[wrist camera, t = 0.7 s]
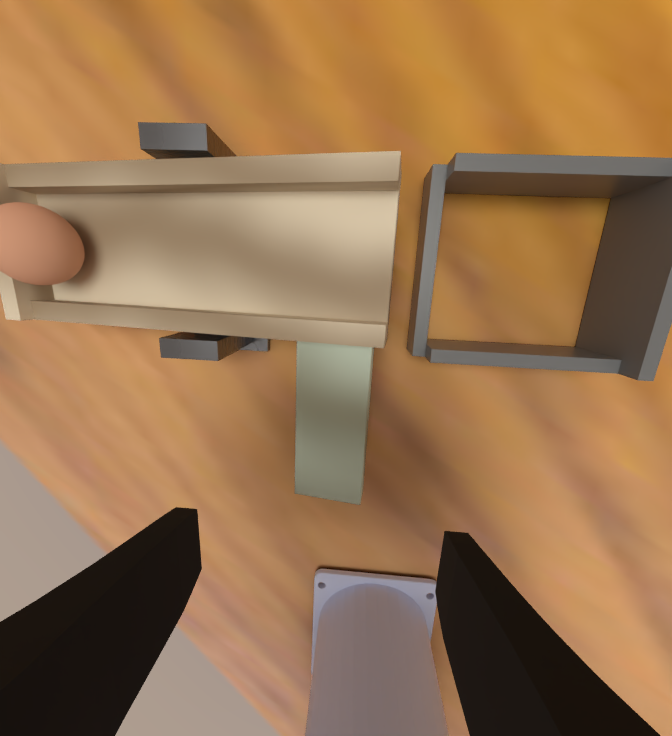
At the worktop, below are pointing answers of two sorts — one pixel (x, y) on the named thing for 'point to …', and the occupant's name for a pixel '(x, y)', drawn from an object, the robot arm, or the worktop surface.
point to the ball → (38, 245)
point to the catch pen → (611, 272)
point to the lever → (237, 271)
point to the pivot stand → (193, 144)
